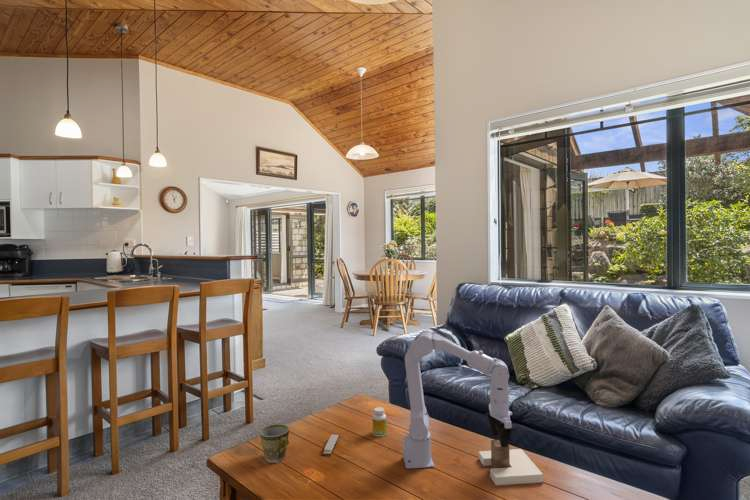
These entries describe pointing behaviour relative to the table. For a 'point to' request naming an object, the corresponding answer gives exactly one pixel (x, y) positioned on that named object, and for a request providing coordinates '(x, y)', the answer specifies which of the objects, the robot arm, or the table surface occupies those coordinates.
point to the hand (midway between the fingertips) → (499, 440)
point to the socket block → (513, 469)
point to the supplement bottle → (379, 422)
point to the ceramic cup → (274, 442)
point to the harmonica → (330, 445)
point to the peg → (499, 455)
